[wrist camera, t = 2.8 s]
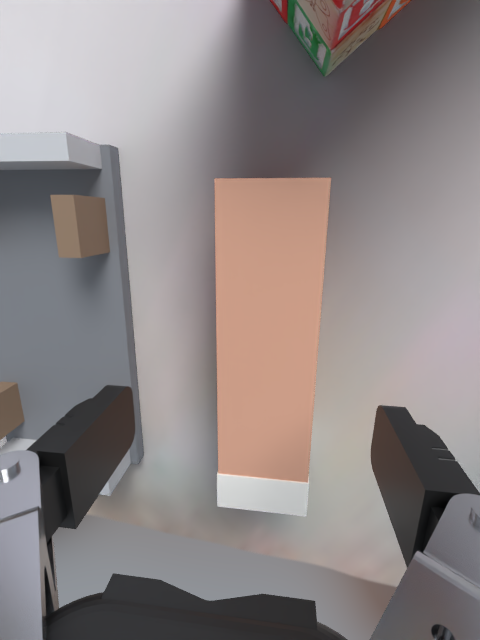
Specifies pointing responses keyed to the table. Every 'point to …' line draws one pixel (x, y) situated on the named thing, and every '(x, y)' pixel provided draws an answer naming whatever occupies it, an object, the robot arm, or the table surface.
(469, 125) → the table surface
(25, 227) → the cradle jig
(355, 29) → the stack of blocks
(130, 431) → the robot arm
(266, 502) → the peach lotion tube
